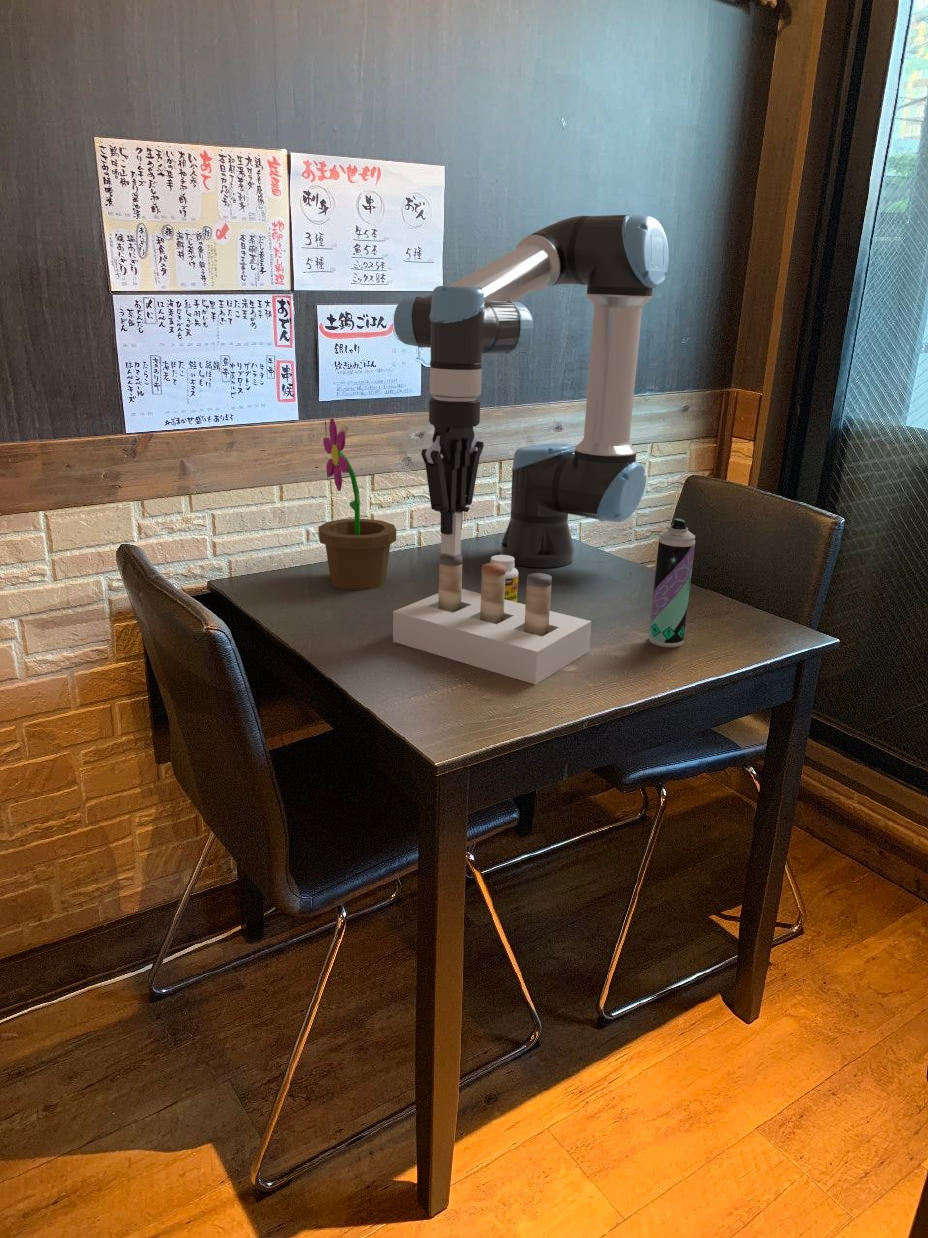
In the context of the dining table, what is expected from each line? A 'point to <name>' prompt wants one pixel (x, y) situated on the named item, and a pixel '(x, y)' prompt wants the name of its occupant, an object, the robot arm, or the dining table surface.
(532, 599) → the plug
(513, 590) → the supplement bottle
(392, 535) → the flowerpot
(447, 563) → the plug
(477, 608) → the socket board
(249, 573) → the dining table surface
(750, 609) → the dining table surface
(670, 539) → the spray can
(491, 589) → the plug
